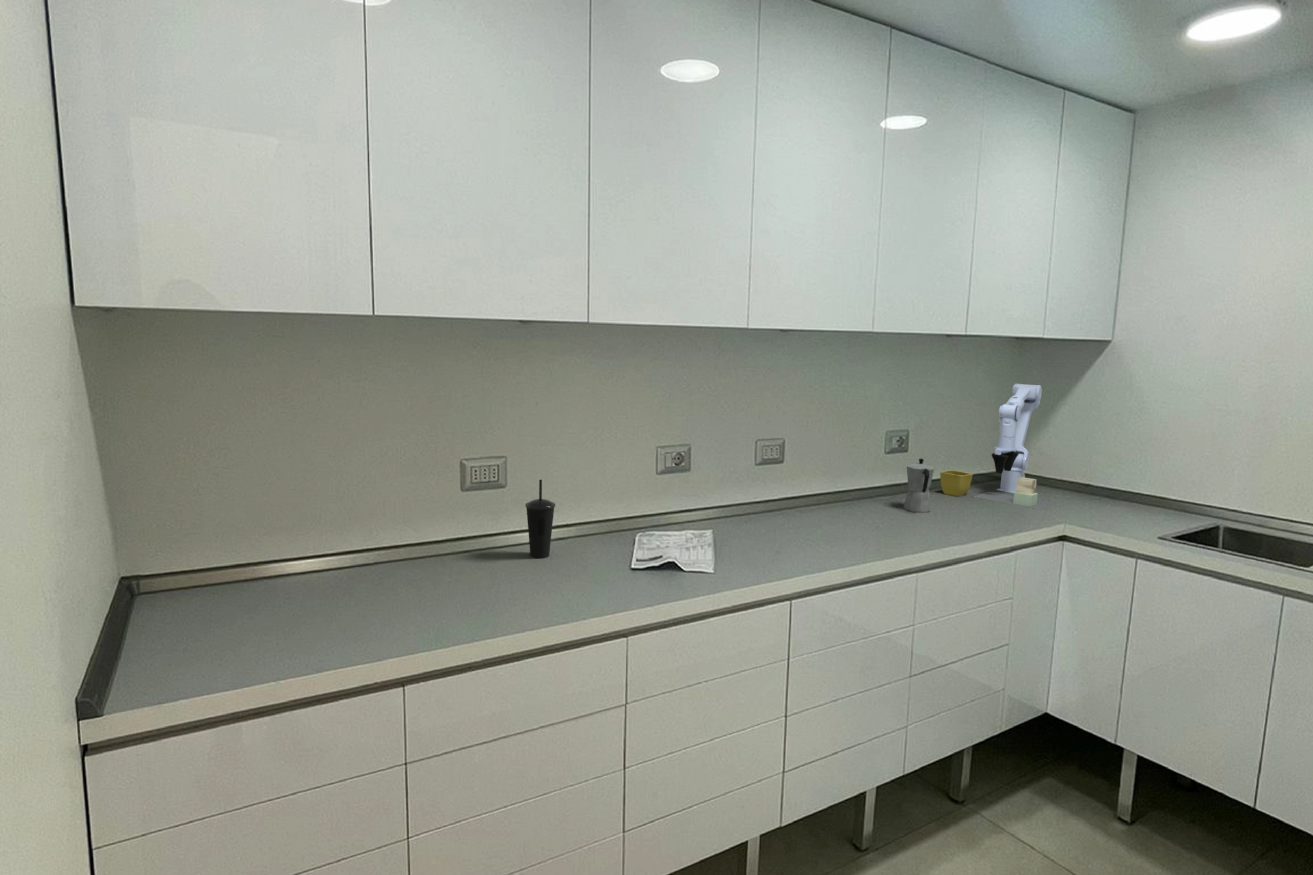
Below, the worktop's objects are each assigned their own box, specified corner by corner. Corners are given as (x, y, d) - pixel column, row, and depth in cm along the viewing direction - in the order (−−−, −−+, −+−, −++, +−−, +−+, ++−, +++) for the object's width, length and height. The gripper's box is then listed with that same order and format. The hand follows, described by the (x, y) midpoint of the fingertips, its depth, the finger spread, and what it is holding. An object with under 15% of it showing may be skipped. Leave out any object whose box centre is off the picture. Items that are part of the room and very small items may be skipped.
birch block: (1020, 490, 266) (1022, 477, 266) (1035, 493, 263) (1036, 479, 262) (1015, 492, 263) (1017, 478, 262) (1030, 494, 259) (1032, 481, 259)
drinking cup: (560, 554, 188) (561, 479, 185) (541, 562, 182) (542, 484, 179) (538, 549, 192) (538, 475, 189) (518, 556, 186) (519, 480, 183)
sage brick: (1019, 500, 268) (1020, 490, 267) (1036, 504, 263) (1037, 493, 263) (1012, 503, 264) (1014, 492, 263) (1030, 506, 259) (1031, 495, 259)
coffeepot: (898, 504, 258) (902, 454, 256) (925, 505, 258) (929, 455, 255) (909, 514, 243) (914, 462, 240) (938, 516, 242) (943, 463, 240)
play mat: (989, 493, 282) (989, 491, 282) (1055, 505, 265) (1055, 503, 265) (972, 498, 272) (972, 496, 272) (1039, 511, 255) (1040, 509, 255)
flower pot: (949, 492, 282) (951, 469, 280) (971, 496, 275) (973, 473, 274) (937, 495, 276) (939, 471, 275) (959, 499, 269) (961, 475, 268)
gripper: (1004, 433, 280) (1000, 468, 282) (988, 436, 270) (984, 472, 272) (1023, 436, 275) (1019, 471, 277) (1007, 438, 265) (1003, 475, 267)
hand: (1003, 471), depth 274 cm, fingers open, 7 cm apart
